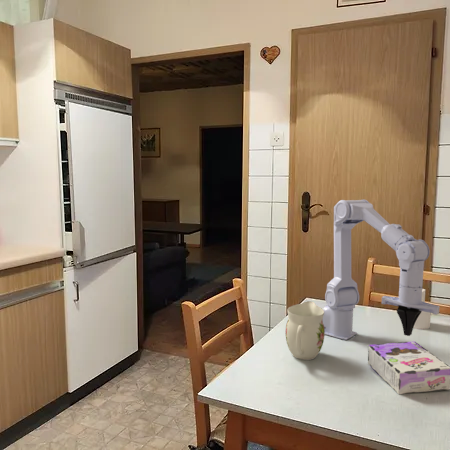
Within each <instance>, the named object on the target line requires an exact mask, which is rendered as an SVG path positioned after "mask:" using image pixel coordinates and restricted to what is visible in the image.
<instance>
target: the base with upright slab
mask: <svg viewBox="0 0 450 450" xmlns="http://www.w3.org/2000/svg"><path fill="white" fill-rule="evenodd" d="M425 300H426V289H424V288H422V302H426V301H425ZM431 318H432V313H429V312H424V311H422V312H421V313H420V315H419V317H418V318H417V320H416V322H415V324H414V327H413V329H414V330H415V329H416V330H427V329H429V328H431Z"/></svg>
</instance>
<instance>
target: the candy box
mask: <svg viewBox="0 0 450 450" xmlns="http://www.w3.org/2000/svg"><path fill="white" fill-rule="evenodd" d="M367 364H368V366H370V367H371V368H372V369H373V370H374V371H375V372H376V373H377V374H378V375H379V376H380V377H381V378H382V379H383V380H384V381H385V382H386V383H387V384H388V385H389V387H391V388H392V389H393V390H394V391H395V392H396V393H397V394H398V395H403V394H412V393H424V392H434V391H445V390H446V391H447V390H450V365H448V364H447V363H446V362H445V361H442V360H441V359H440V358H439V357H437V356H436V355H434V354H433V353H431V352H430V351H429V350H428V349H426V348H425V347H423V346H422V345H420V344H419V343H418V342H416V341H414V340H413V341H401V342H388V343H379V344H378V343H377V344H369V345H368V353H367Z"/></svg>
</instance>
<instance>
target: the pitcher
mask: <svg viewBox="0 0 450 450" xmlns="http://www.w3.org/2000/svg"><path fill="white" fill-rule="evenodd" d="M287 316H288V319H287V322H286V325H285V340H286V344H287V347H288V350H289V351H290V353H291V355H292V356H293V357H294V358H295V359H297V360H298V359H299V360H305V361H306V360H307V361H310V360H313V359H316V357H318V355H319V353H320V352H321V350H322V348H323V346H324V340H325V330H324V324H323V321H322V320H323V316H324V310H323V308H322V307H320V306H319V305H318V304H316V303H315V302H314V301H312V300H311V301H309V300H307V301H303V302H301V303H298V304H293V305H291V306H289V307H288V308H287Z"/></svg>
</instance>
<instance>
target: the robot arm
mask: <svg viewBox="0 0 450 450" xmlns="http://www.w3.org/2000/svg"><path fill="white" fill-rule="evenodd" d="M362 222H366V223H367V224H368V225H370V226H371V227H372V228H373V229H375V230H376V231H377V232H378V233H380V236H381V238H380V239H381V240H382V241H383V242H385V244H387V245H388V246H389V247H391V249H392V250H393V251H395V255H396V258H397V259H398V266H399V271H400V272H399V286H398V287H399V288H398V296H388V295H383V296H381V304H382V305H391V306H394V307H397V309H396V313H397V315H398V317H399V320H400V322H401V326H402V330H403V335H404V336H407V337H410V336H412V333H413V329H414V328H413V327H414V324H415V322H416V320H417V318H418V317H419V315H420V313H421V312H422V311H424V312H429V313H431V314H432V315H436V316H437V315H439V313H440V306H439V305H437V304H432V303H428V302H426V301H425V302H422V289H423V285H424V284H423V283H424V270H425V269H424V268H425V267H424V266H425V261H426V260H428V258H429V257H430V252H431V251H430V246H429V245H428V243H427V242H426V241H425V240H423V239H416V238H414V236H413V235H412V234H409V233H408V232H407V231H405V230H404V229H403V226H402V225H401V224H397V223H389V221H387V220H386V219H385V218H384V217H383V216H382V215H381V214H380V213H379V212H378V211H377V210H375V208H374V204H372V202H370V201H368V200H367V199H357V200H356V199H351V200H350V199H347V200H345V199H341V200H339V201H338V202H337V203H336V204H335V205H334V206H333V278H331V280H330V281H329V282H327V284H326V291H325V294H324V300H325V303H326V305H324V307H323V308H322V309H323V310H324V316H323V320H322V321H323V324H324V330H325V335H326V336H330V337H333V338H337V339H341V340H345V341H346V340H350V339H351V338H352V337H354V336H355V335H358V332H356V331H353V321H354V309H355V308H356V305H358V304H359V302H360V293H359V289H358V283H357V282H356V281H355V280H354V279H353V277H352V229H354V227H355V226H357V225H358V224H360V223H362ZM325 335H324V336H325Z"/></svg>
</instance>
